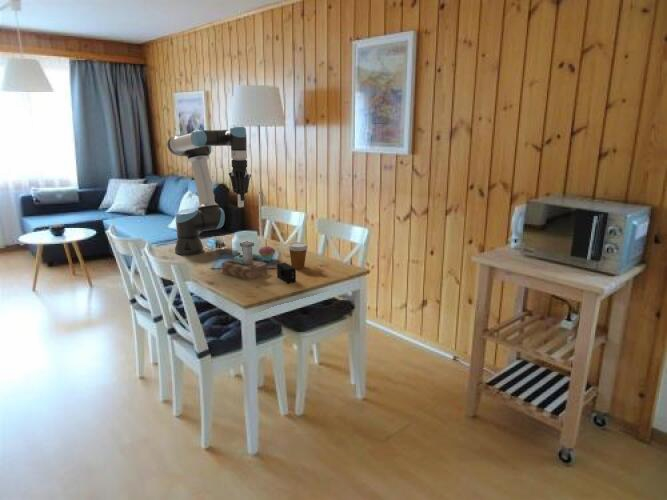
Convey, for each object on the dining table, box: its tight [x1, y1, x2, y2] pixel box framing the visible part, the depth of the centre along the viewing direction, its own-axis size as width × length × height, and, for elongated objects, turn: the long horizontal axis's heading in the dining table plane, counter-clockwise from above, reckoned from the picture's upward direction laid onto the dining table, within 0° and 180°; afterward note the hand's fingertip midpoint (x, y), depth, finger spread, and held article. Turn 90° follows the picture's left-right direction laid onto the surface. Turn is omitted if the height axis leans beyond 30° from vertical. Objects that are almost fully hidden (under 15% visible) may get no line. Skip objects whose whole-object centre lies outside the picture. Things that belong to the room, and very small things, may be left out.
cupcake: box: [258, 239, 276, 262], centre depth 242 cm, size 9×8×12 cm
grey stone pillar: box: [240, 241, 255, 266], centre depth 219 cm, size 5×5×16 cm
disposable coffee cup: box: [288, 242, 308, 270], centre depth 231 cm, size 10×10×12 cm
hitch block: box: [221, 258, 268, 281], centre depth 222 cm, size 18×12×6 cm, turn 58°
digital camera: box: [276, 262, 297, 285], centre depth 214 cm, size 10×5×7 cm, turn 35°
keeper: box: [233, 254, 243, 264], centre depth 222 cm, size 5×4×3 cm
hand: (240, 206), depth 230 cm, fingers closed
